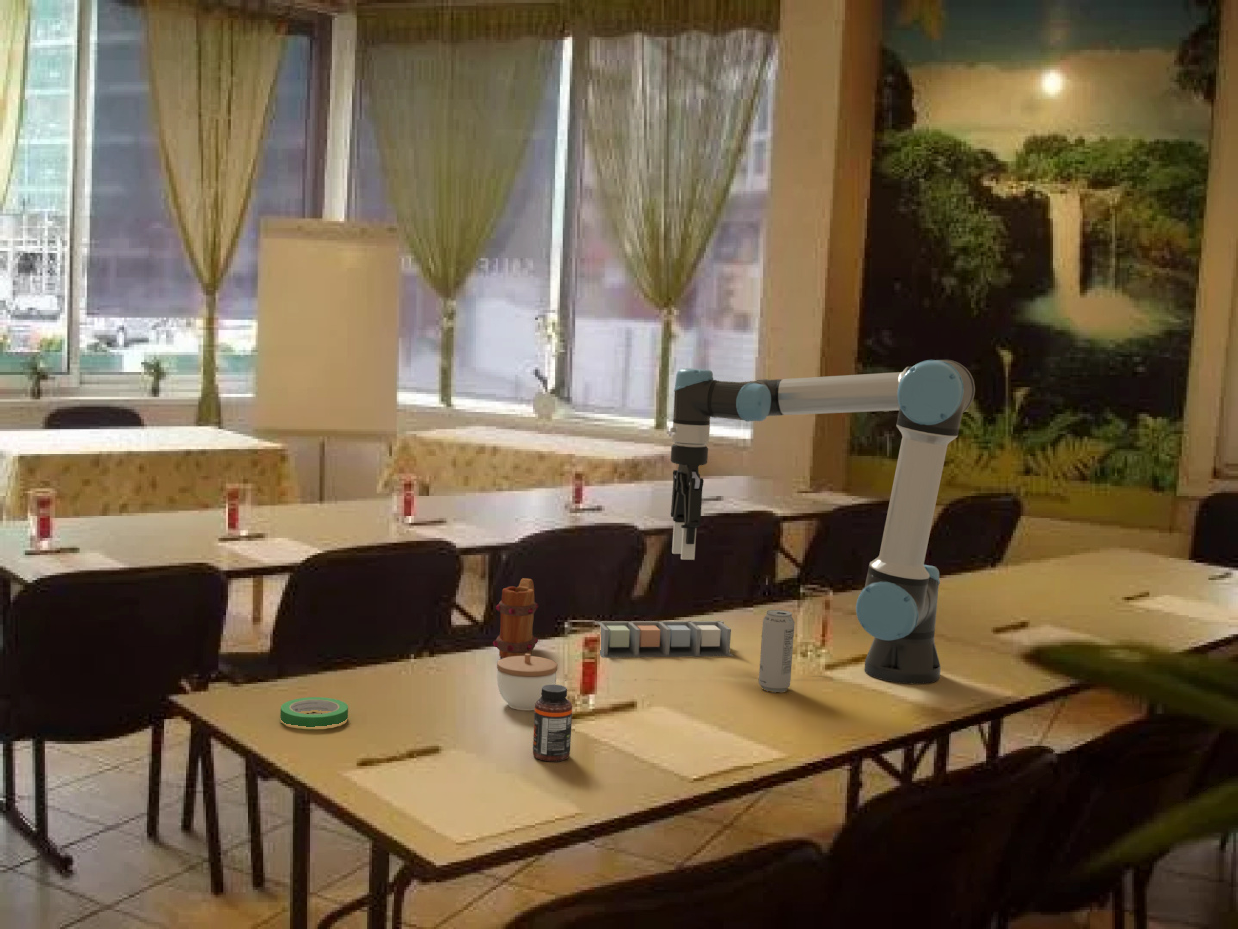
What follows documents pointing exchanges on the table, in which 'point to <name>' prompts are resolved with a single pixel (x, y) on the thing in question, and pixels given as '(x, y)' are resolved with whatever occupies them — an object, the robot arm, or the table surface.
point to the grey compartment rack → (665, 640)
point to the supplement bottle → (552, 724)
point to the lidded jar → (524, 679)
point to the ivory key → (709, 635)
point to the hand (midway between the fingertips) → (683, 556)
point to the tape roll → (314, 703)
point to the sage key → (618, 636)
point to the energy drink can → (776, 650)
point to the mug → (516, 620)
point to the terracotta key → (649, 636)
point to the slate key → (679, 636)
